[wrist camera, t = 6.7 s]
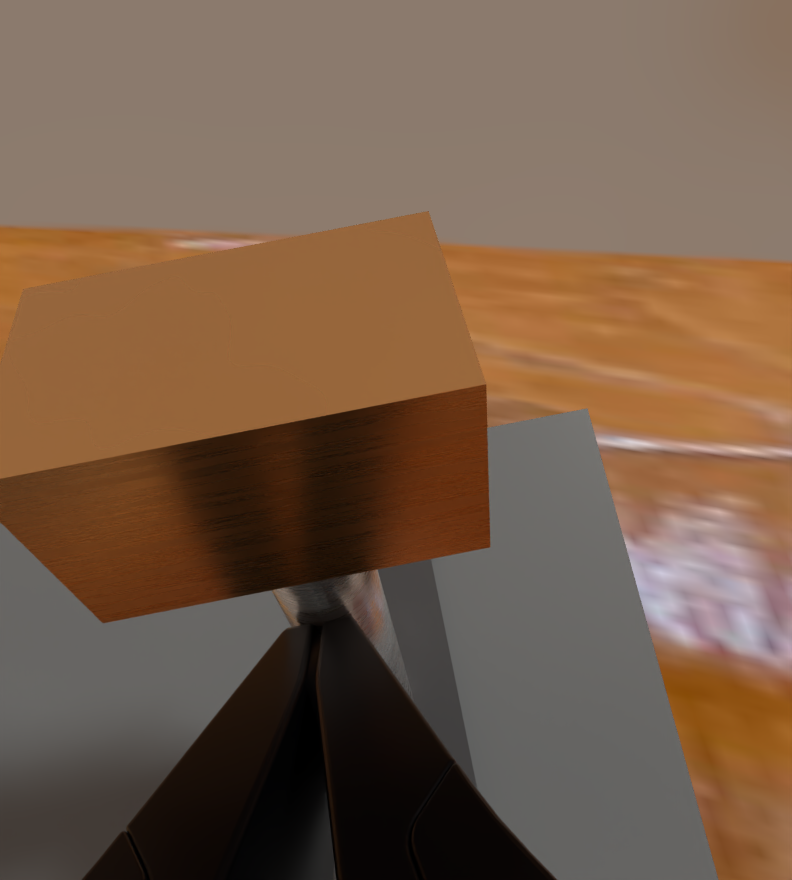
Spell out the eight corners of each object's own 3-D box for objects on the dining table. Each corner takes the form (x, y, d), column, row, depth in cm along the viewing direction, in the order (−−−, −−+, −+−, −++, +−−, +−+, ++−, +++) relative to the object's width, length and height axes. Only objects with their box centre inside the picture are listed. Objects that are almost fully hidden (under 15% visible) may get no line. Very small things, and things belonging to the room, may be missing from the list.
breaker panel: (691, 923, 17) (751, 989, 14) (-147, 1092, 16) (-280, 1197, 13) (563, 441, 20) (589, 405, 17) (-139, 578, 20) (-245, 568, 17)
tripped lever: (495, 768, 14) (486, 382, 5) (291, 809, 14) (-38, 486, 5) (468, 650, 15) (428, 210, 7) (285, 687, 15) (23, 288, 7)
